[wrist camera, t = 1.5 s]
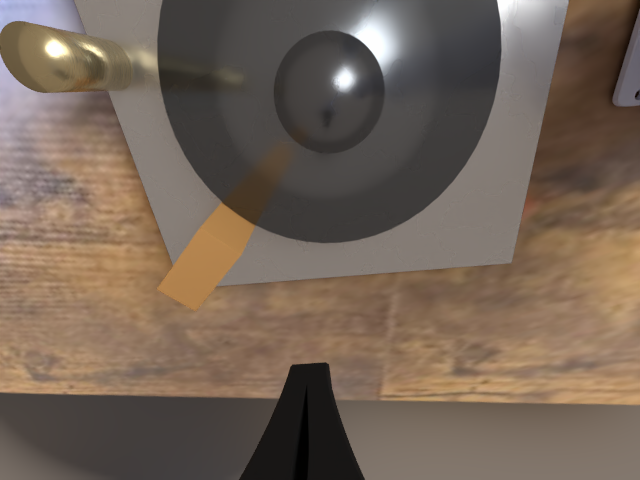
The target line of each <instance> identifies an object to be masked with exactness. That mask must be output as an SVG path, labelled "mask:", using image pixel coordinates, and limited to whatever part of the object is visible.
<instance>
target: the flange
mask: <svg viewBox="0 0 640 480" xmlns="http://www.w3.org/2000/svg"><path fill="white" fill-rule="evenodd" d="M501 52H502V46H501V21H500V15H499V8H498V2H497V0H163V1H162V5H161V10H160V18H159V27H158V36H157V61H158V72H159V80H160V88H161V93H162V97H163V101H164V105H165V109H166V113H167V116H168V119H169V121H170V124H171V127H172V130H173V132H174V135H175V137H176V139H177V141H178V143H179V145H180V147H181V149H182V151H183V153H184V155H185V157H186V158H187V160H188V161H189V163H190V164H191V166H192V168H193V169H194V171H195V172H196V174H197V175H198V176H199V177H200V179H201V180H202V181H203V182H204V184H205V185H206V186H207V187H208V188H209V190H210V191H211V192H212V193H213V194H215V195H216V196H217V197H218V198H219V199H220V200H221V201H222V203H221V204H220V205H219V206H218V207H217V208H216V209H215V211H214V212H213V213H212V214H211V215H210V216H209V218H208V219H207V220H206V221H205V222H204V223H203V225H202V226H201V227H200V228H199V230H198V231H197V232H196V234H195V235H194V237H193V238H192V240H191V241H190V242H189V244H188V245H187V247H186V248H185V250H184V251H183V252H182V254H181V255H180V257H179V258H178V259H177V261H176V262H175V264H174V265H173V267H172V268H171V269H170V271H169V272H168V274H167V275H166V277H165V278H164V279H163V281H162V282H161V284H160V285H159V287H158V288H157V290H158V291H160V292H162V293H164V294H166V295H167V296H169V297H171V298H173V299H174V300H176V301H178V302H180V303H182V304H183V305H185V306H187V307H189V308H190V309H192V310H194V311H196V310H197V309H198V308H199V307H200V305H201V304H202V303H203V302H204V301H205V299H206V298H207V297H208V296H209V294H210V293H211V292H212V291H213V289H214V288H215V287H216V286H217V284H218V283H219V282H220V281H221V280H222V278H223V277H224V276H225V275H226V273H227V272H228V271H229V270H230V268H231V267H232V266H233V265H234V263H235V262H236V261H237V260H238V259H239V257H240V256H241V255H242V253H243V251H244V249H245V246H246V244H247V242H248V240H249V238H250V236H251V234H252V232H253V230H254V228H255V226H258V227H260V228H262V229H265V230H267V231H269V232H271V233H274V234H277V235H280V236H283V237H286V238H290V239H295V240H300V241H304V242H315V243H341V242H348V241H355V240H360V239H364V238H368V237H371V236H375V235H378V234H380V233H383V232H385V231H388V230H390V229H393V228H394V227H396V226H398V225H400V224H402V223H404V222H406V221H408V220H409V219H411V218H412V217H414V216H415V215H417V214H418V213H420V212H421V211H422V210H424V209H425V208H426V207H427V206H429V205H430V204H431V203H432V202H433V201H434V200H436V199H437V198H438V197H439V196H440V195H441V194H442V193H443V192H444V191H445V190H446V189H447V187H448V186H449V185H450V184H451V183H452V182H453V181H454V180H455V178H456V177H457V176H458V174H459V173H460V172H461V170H462V169H463V168H464V166H465V165H466V163H467V162H468V160H469V158H470V157H471V155H472V153H473V152H474V150H475V148H476V146H477V145H478V142H479V140H480V138H481V136H482V134H483V131H484V129H485V127H486V125H487V122H488V119H489V116H490V113H491V110H492V107H493V103H494V100H495V95H496V90H497V85H498V81H499V74H500V63H501Z"/></svg>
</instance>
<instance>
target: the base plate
mask: <svg viewBox="0 0 640 480" xmlns="http://www.w3.org/2000/svg"><path fill="white" fill-rule="evenodd" d="M162 1H163V0H74V2H75V5H76V7H77V10H78V13H79V15H80V18H81V21H82V23H83V26H84V29H85V31H86V34H87V35H85V34H80V33H75V32H70V31H66V30H61V29H56V28H52V27H47V26H42V25H38V24H33V23H28V22H23V21H15V22H11V23H9V24H7V25H6V26H5V27H4V28H3V29H2V31H1V33H0V54H1V57H2V59H3V61H4V63H5V65H6V67H7V68H8V70H9V71H10V73H11V74H12V75H13V76H14V77H15V78H16V79H17V80H18V81H19V82H20V83H22V84H23V85H24V86H26V87H27V88H29V89H31V90H34V91H37V92H42V93H55V92H92V91H108V93H109V95H110V98H111V101H112V104H113V106H114V109H115V112H116V114H117V117H118V120H119V122H120V125H121V128H122V130H123V133H124V136H125V138H126V141H127V144H128V146H129V149H130V152H131V154H132V157H133V160H134V162H135V165H136V168H137V170H138V173H139V176H140V178H141V181H142V184H143V186H144V189H145V192H146V194H147V197H148V200H149V202H150V205H151V208H152V210H153V213H154V216H155V219H156V221H157V224H158V227H159V229H160V232H161V235H162V237H163V240H164V243H165V245H166V248H167V251H168V253H169V256H170V259H171V261H172V264H173V265H174V264H175V262H176V261H177V259H178V258H179V257H180V255H181V254H182V252H183V251H184V250H185V248H186V247H187V245H188V244H189V242H190V241H191V240H192V238H193V237H194V235H195V234H196V232H197V231H198V230H199V228H200V227H201V226H202V225H203V223H204V222H205V221H206V220H207V219H208V218H209V216H210V215H211V214H212V213H213V212H214V211H215V209H216V208H217V207H218V206H219V205H220V204H221V203H222V201H221V200H220V199H219V198H218V197H217V196H216V195H215V194H213V193H212V192H211V191H210V190H209V188H208V187H207V186H206V185H205V184H204V182H203V181H202V180H201V179H200V177H199V176H198V175H197V174H196V172H195V171H194V169H193V168H192V166H191V164H190V163H189V161H188V160H187V158H186V157H185V155H184V153H183V151H182V149H181V147H180V145H179V143H178V141H177V139H176V137H175V135H174V132H173V130H172V127H171V124H170V121H169V119H168V116H167V113H166V109H165V105H164V101H163V97H162V93H161V88H160V80H159V72H158V61H157V36H158V27H159V18H160V10H161V5H162ZM497 2H498V8H499V15H500V21H501V46H502V52H501V63H500V74H499V81H498V85H497V90H496V95H495V100H494V103H493V107H492V110H491V113H490V116H489V119H488V122H487V125H486V127H485V129H484V131H483V134H482V136H481V138H480V140H479V142H478V145H477V146H476V148H475V150H474V152H473V153H472V155H471V157H470V158H469V160H468V162H467V163H466V165H465V166H464V168H463V169H462V170H461V172H460V173H459V174H458V176H457V177H456V178H455V180H454V181H453V182H452V183H451V184H450V185H449V186H448V187H447V189H446V190H445V191H444V192H443V193H442V194H441V195H440V196H439V197H438V198H437V199H436V200H434V201H433V202H432V203H431V204H430V205H429V206H427V207H426V208H425V209H424V210H422V211H421V212H420V213H418V214H417V215H415V216H414V217H412V218H411V219H409V220H408V221H406V222H404V223H402V224H400V225H398V226H396V227H394V228H393V229H390V230H388V231H385V232H383V233H380V234H378V235H375V236H371V237H368V238H364V239H360V240H355V241H348V242H341V243H315V242H304V241H300V240H295V239H290V238H286V237H283V236H280V235H277V234H274V233H271V232H269V231H267V230H265V229H262V228H260V227H258V226H255V228H254V230H253V232H252V234H251V236H250V238H249V240H248V242H247V244H246V246H245V249H244V251H243V253H242V255H241V256H240V257H239V259H238V260H237V261H236V262H235V263H234V265H233V266H232V267H231V268H230V270H229V271H228V272H227V273H226V275H225V276H224V277H223V278H222V280H221V281H220V282H219V283H218V284H217V286H227V285H240V284H253V283H266V282H278V281H291V280H304V279H316V278H329V277H342V276H355V275H367V274H380V273H393V272H405V271H418V270H431V269H444V268H456V267H469V266H482V265H494V264H507V263H512V259H513V254H514V250H515V245H516V240H517V236H518V231H519V227H520V222H521V218H522V213H523V208H524V204H525V199H526V195H527V190H528V186H529V181H530V176H531V172H532V167H533V163H534V158H535V153H536V149H537V144H538V140H539V135H540V131H541V126H542V121H543V117H544V112H545V108H546V103H547V99H548V94H549V89H550V85H551V80H552V76H553V71H554V66H555V62H556V57H557V53H558V48H559V44H560V39H561V34H562V30H563V25H564V21H565V16H566V12H567V7H568V2H569V0H497Z"/></svg>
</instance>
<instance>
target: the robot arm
mask: <svg viewBox="0 0 640 480" xmlns="http://www.w3.org/2000/svg"><path fill="white" fill-rule="evenodd" d="M638 90H639V94H638V96H637V97H636V98H635V94H636V92H637V91H638ZM612 101H613V104H614V105H616V106H623V107H627V106H637V105H640V10H639V13H638V16H637V19H636V23H635V26H634V29H633V33H632V36H631V39H630V42H629V46H628V49H627V52H626V55H625V59H624V62H623V65H622V68H621V72H620V75H619V78H618V82H617V85H616V88H615V91H614V95H613V100H612ZM239 480H365V479H364V477H363V474H362V472H361V470H360V468H359V465H358V463H357V461H356V458H355V456H354V453H353V451H352V448H351V446H350V443H349V440H348V438H347V435H346V433H345V430H344V427H343V424H342V421H341V418H340V415H339V412H338V409H337V406H336V402H335V398H334V394H333V390H332V384H331V377H330V369H329V364H327V363H326V362H325V363H311V364H296V365H292V366H291V367H290V370H289V374H288V377H287V380H286V383H285V385H284V388H283V391H282V393H281V396H280V398H279V401H278V403H277V406H276V408H275V410H274V412H273V415H272V417H271V419H270V422H269V424H268V426H267V428H266V430H265V432H264V434H263V436H262V438H261V440H260V442H259V444H258V446H257V448H256V450H255V452H254V454H253V456H252V458H251V459H250V461H249V463H248V465H247V467H246V468H245V470H244V472H243V474H242V475H241V477H240V479H239Z"/></svg>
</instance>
